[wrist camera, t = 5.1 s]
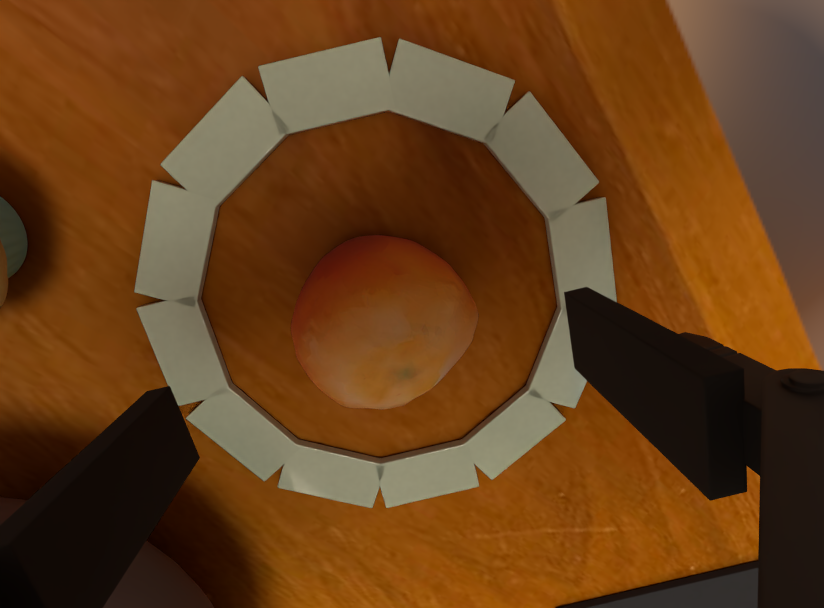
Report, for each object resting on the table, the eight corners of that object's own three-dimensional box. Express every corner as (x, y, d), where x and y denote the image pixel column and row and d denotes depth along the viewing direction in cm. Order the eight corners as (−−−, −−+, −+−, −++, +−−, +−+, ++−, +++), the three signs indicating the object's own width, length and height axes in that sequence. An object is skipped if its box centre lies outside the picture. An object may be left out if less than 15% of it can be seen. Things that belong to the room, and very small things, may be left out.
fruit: (397, 159, 21) (463, 266, 15) (452, 270, 26) (515, 376, 21) (246, 246, 21) (257, 378, 16) (332, 336, 27) (362, 456, 21)
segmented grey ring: (578, -7, 21) (584, -12, 20) (627, 445, 27) (633, 450, 27) (64, 115, 21) (55, 113, 20) (236, 536, 27) (233, 544, 27)
